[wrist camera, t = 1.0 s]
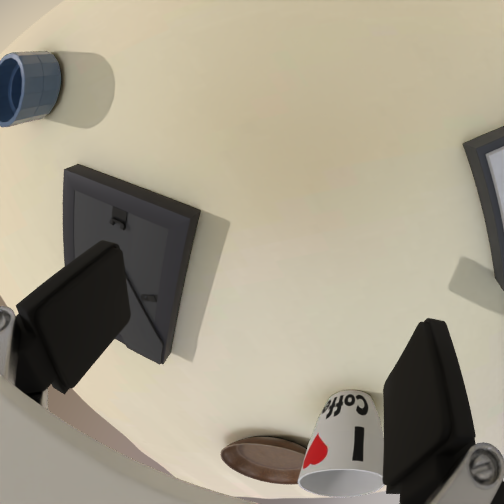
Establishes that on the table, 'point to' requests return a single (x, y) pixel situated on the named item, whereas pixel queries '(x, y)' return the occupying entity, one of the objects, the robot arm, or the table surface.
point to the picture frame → (134, 249)
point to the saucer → (266, 459)
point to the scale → (490, 190)
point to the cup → (345, 448)
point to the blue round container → (28, 86)
